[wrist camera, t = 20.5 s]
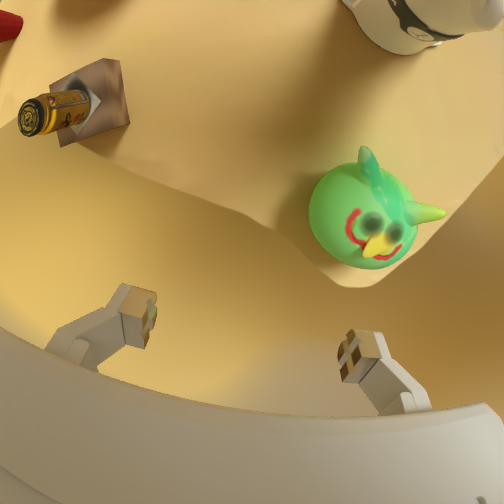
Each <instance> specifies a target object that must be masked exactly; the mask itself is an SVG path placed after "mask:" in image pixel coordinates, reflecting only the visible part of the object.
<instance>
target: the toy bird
mask: <svg viewBox="0 0 504 504" xmlns="http://www.w3.org/2000/svg"><path fill="white" fill-rule="evenodd" d="M308 216H309V223H310V227H311V230H312V232H313V235H314V236H315V238H316V240H317V241H318V242H319V244H320V245H321V246H322V247H323V248H324V249H325V250H326V251H327V252H328V253H329V254H330V255H332V256H333V257H335V258H336V259H338V260H339V261H341V262H343V263H345V264H347V265H350V266H353V267H356V268H360V269H370V270H372V269H381V268H385V267H387V266H390V265H392V264H394V263H395V262H397V261H398V260H400V259H401V258H402V257H403V256H404V255H405V254H406V253H407V252H408V250H409V249H410V247H411V246H412V244H413V242H414V240H415V237H416V234H417V230H418V224H421V223H426V222H431V221H435V220H439V219H442V218H444V217H445V216H446V212H445V211H444V210H442V209H440V208H437V207H434V206H430V205H426V204H422V203H418V202H415V201H414V199H413V197H412V195H411V194H410V192H409V191H408V189H407V188H406V187H405V186H404V185H403V183H402V182H401V181H399V180H398V179H397V178H396V177H395V176H393V175H392V174H390V173H389V172H387V171H385V170H383V169H381V168H380V166H379V164H378V162H377V160H376V158H375V156H374V155H373V153H372V152H371V150H370V149H369V148H368V147H366V146H362V147H360V149H359V154H358V163H347V164H343V165H340V166H338V167H336V168H334V169H332V170H331V171H329V172H328V173H327V174H326V175H325V176H324V177H323V178H322V179H321V180H320V181H319V182H318V184H317V185H316V187H315V189H314V191H313V193H312V196H311V199H310V203H309V210H308Z"/></svg>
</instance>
